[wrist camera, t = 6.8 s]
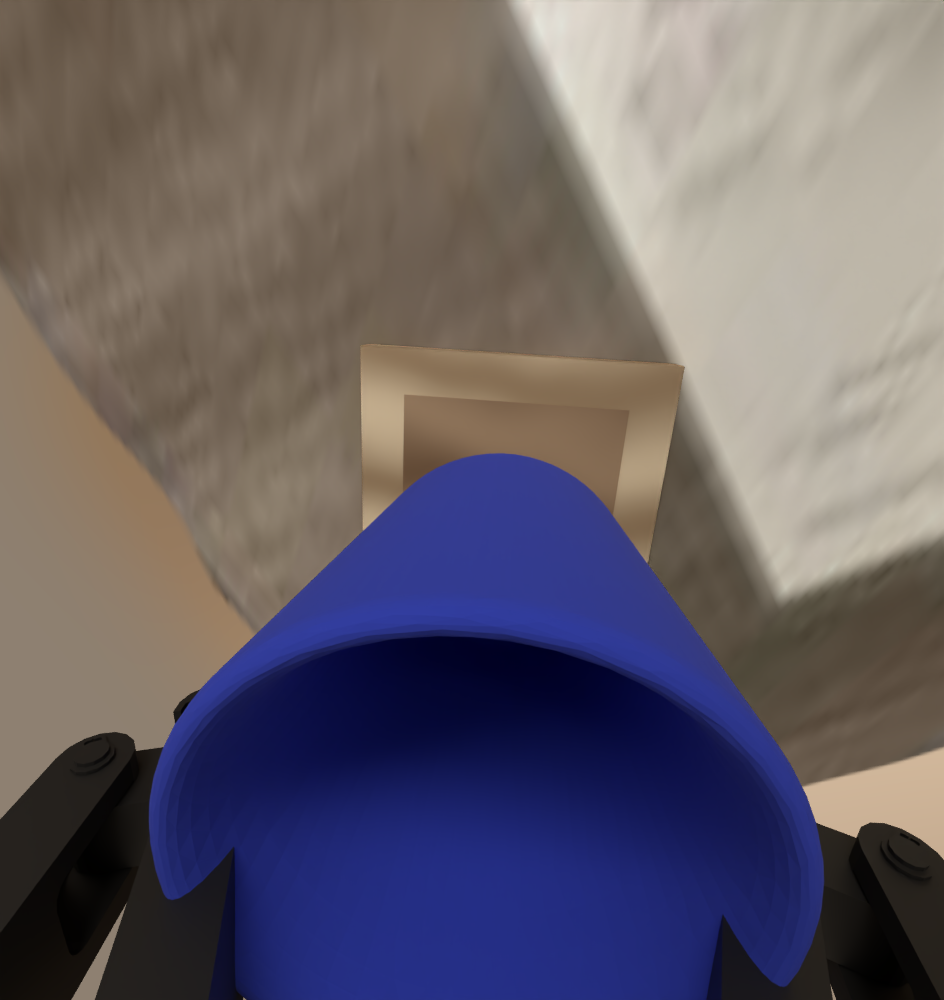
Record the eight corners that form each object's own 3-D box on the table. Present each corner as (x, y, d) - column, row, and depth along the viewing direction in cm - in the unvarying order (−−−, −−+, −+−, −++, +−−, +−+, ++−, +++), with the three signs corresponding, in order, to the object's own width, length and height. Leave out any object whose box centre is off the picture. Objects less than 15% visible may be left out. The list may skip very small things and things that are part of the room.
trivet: (369, 343, 24) (360, 345, 23) (674, 363, 23) (684, 367, 22) (372, 605, 29) (363, 620, 28) (626, 630, 28) (632, 647, 27)
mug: (449, 774, 19) (375, 1233, 9) (327, 461, 15) (13, 691, 6) (684, 738, 17) (874, 1239, 8) (608, 382, 14) (791, 522, 4)
